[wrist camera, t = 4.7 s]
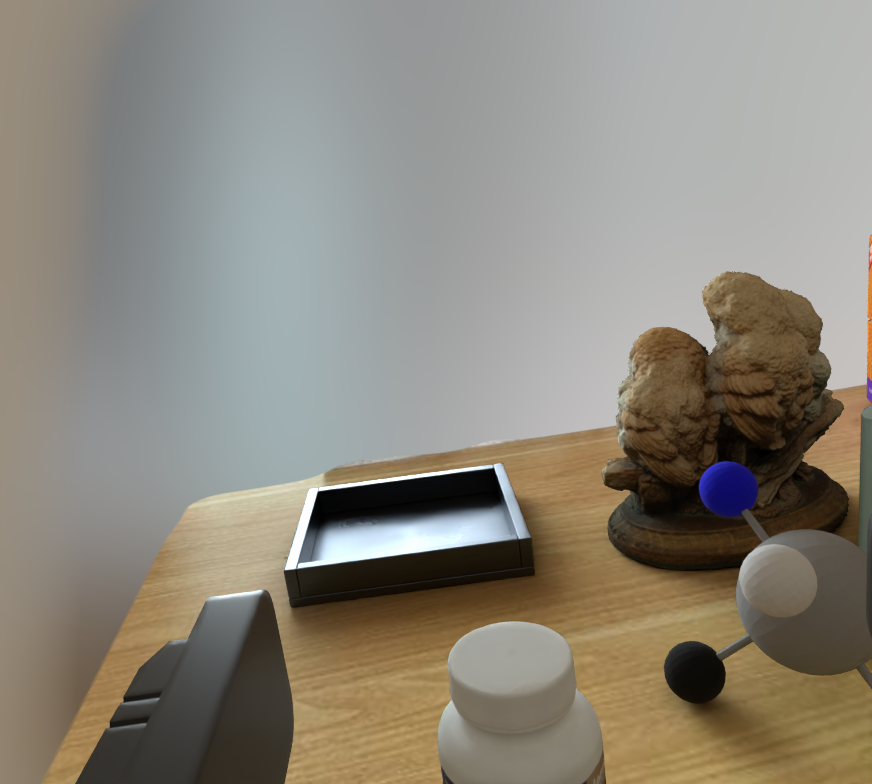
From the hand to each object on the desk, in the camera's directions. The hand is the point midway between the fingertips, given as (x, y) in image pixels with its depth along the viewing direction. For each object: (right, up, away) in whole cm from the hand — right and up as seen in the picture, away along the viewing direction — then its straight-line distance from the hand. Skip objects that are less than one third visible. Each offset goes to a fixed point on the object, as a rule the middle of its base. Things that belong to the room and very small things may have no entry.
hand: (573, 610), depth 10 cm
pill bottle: (+2, -15, +17) cm, 22 cm away
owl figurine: (+18, -6, +42) cm, 46 cm away
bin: (-4, -8, +44) cm, 45 cm away
